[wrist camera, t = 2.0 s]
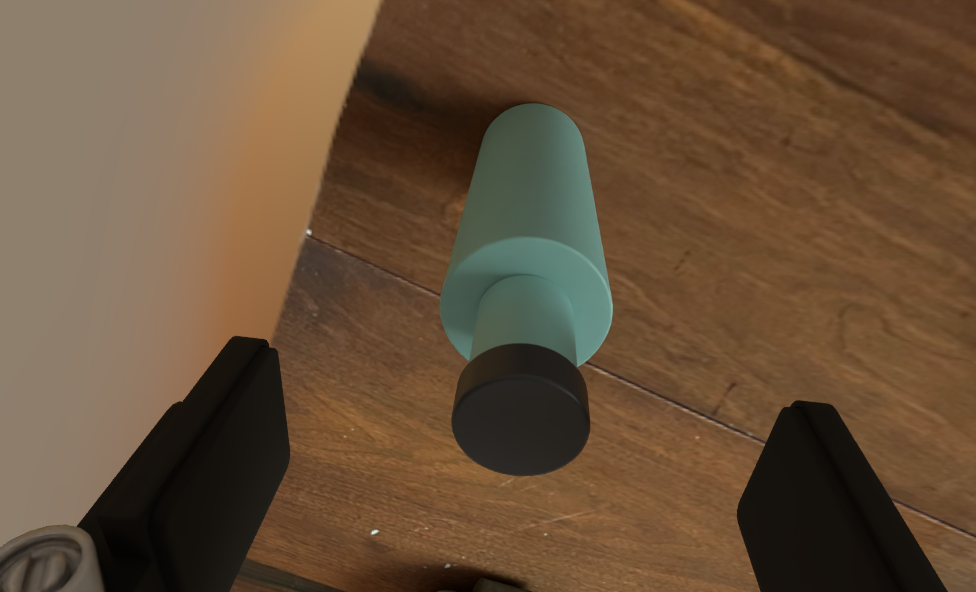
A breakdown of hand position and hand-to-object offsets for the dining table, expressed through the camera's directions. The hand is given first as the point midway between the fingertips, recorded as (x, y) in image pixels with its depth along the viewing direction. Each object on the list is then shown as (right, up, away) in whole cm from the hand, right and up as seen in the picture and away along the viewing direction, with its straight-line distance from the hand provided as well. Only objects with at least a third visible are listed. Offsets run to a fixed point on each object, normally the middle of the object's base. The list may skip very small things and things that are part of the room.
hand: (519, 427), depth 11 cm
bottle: (+1, +8, +12) cm, 14 cm away
